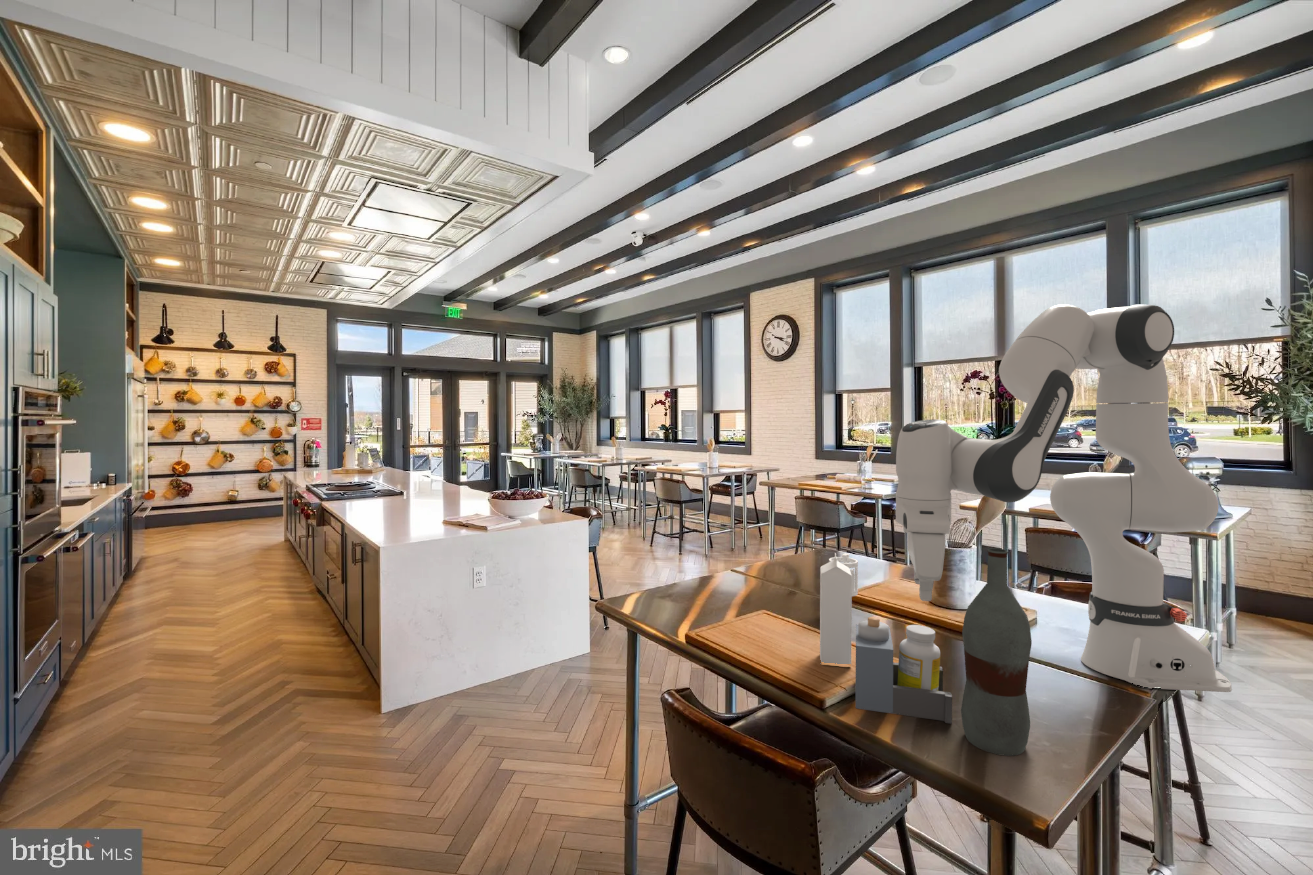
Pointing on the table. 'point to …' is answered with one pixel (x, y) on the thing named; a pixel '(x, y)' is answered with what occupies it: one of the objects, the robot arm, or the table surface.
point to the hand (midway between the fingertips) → (922, 591)
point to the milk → (835, 613)
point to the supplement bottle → (919, 659)
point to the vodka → (996, 665)
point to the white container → (852, 564)
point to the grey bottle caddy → (892, 679)
